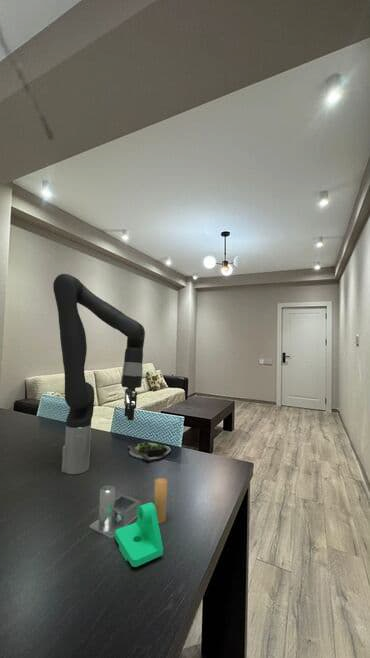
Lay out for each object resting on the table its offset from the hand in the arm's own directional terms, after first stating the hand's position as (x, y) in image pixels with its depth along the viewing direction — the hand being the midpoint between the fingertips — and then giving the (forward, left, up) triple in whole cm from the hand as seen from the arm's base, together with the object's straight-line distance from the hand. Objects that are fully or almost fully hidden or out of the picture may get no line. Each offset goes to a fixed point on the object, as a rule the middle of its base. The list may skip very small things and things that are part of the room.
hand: (128, 418), depth 108 cm
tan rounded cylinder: (+14, -25, -22) cm, 36 cm away
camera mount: (+9, -36, -22) cm, 44 cm away
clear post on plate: (+2, -26, -22) cm, 34 cm away
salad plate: (+7, +21, -22) cm, 31 cm away
